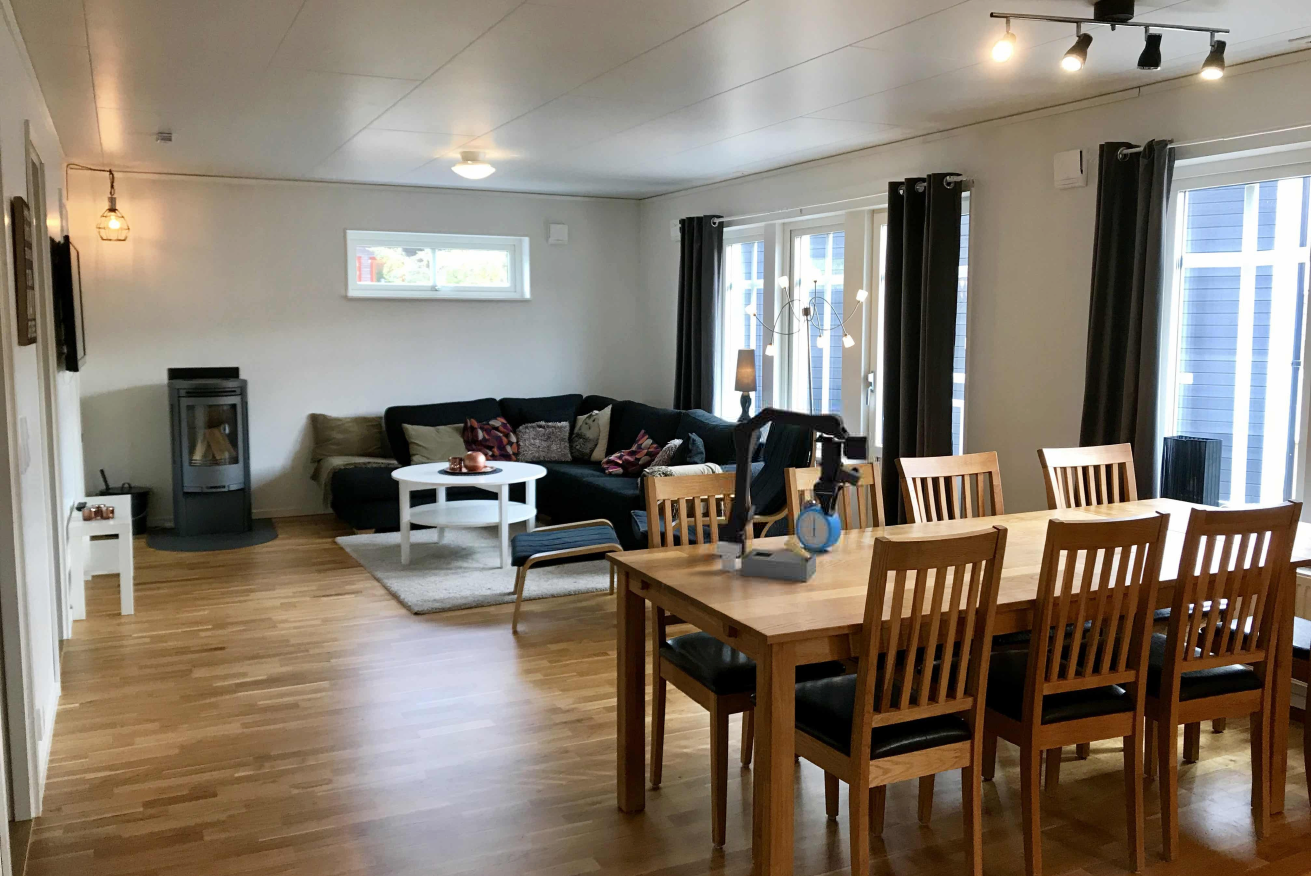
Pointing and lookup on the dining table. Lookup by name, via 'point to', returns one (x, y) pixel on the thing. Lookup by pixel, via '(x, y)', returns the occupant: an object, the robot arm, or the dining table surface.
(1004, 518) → the dining table surface
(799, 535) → the alarm clock
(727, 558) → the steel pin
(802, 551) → the brass latch
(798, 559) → the block
